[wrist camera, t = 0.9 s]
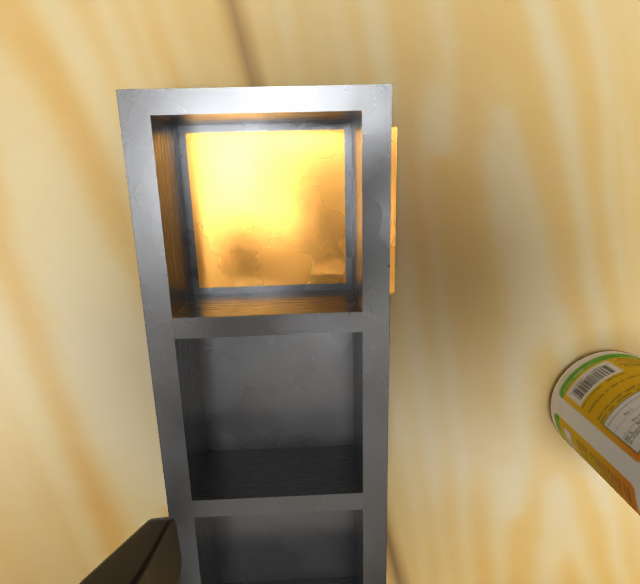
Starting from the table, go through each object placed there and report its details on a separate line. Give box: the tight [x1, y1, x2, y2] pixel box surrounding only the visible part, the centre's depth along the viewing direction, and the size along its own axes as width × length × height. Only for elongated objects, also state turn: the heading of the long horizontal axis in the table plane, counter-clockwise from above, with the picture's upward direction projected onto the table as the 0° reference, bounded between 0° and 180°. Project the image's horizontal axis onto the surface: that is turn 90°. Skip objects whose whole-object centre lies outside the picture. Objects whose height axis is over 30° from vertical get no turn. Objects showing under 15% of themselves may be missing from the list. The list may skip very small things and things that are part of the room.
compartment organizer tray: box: [116, 84, 397, 584], centre depth 20 cm, size 24×9×4 cm, turn 1°
